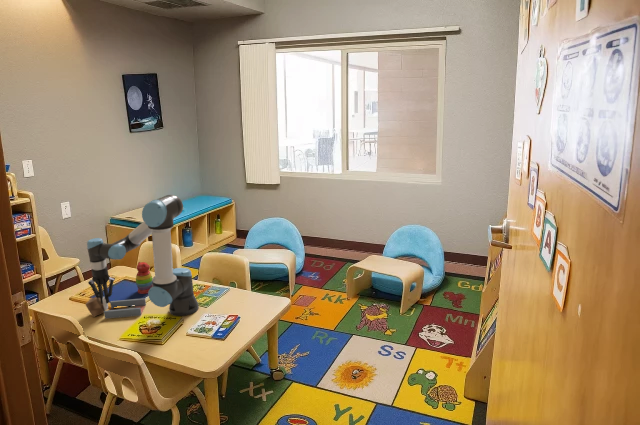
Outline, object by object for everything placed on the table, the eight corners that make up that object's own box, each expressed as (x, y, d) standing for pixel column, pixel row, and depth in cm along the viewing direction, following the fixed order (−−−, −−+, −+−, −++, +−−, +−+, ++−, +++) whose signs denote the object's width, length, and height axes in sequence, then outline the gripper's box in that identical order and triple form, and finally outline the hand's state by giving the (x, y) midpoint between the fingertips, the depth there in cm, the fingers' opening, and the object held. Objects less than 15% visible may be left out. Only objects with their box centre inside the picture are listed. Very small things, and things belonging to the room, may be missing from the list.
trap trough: (146, 304, 255) (145, 298, 254) (140, 315, 243) (139, 308, 242) (112, 307, 253) (110, 301, 252) (105, 318, 241) (103, 311, 240)
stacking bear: (158, 290, 274) (155, 262, 269) (142, 295, 267) (138, 267, 262) (150, 285, 281) (146, 257, 276) (134, 290, 274) (129, 262, 269)
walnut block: (107, 307, 249) (99, 295, 247) (103, 312, 244) (95, 300, 241) (96, 311, 249) (89, 299, 247) (93, 317, 243) (85, 304, 241)
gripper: (114, 263, 244) (120, 304, 251) (88, 265, 243) (95, 306, 249) (110, 269, 237) (116, 310, 244) (83, 271, 236) (91, 313, 242)
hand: (106, 308), depth 247 cm, fingers closed
